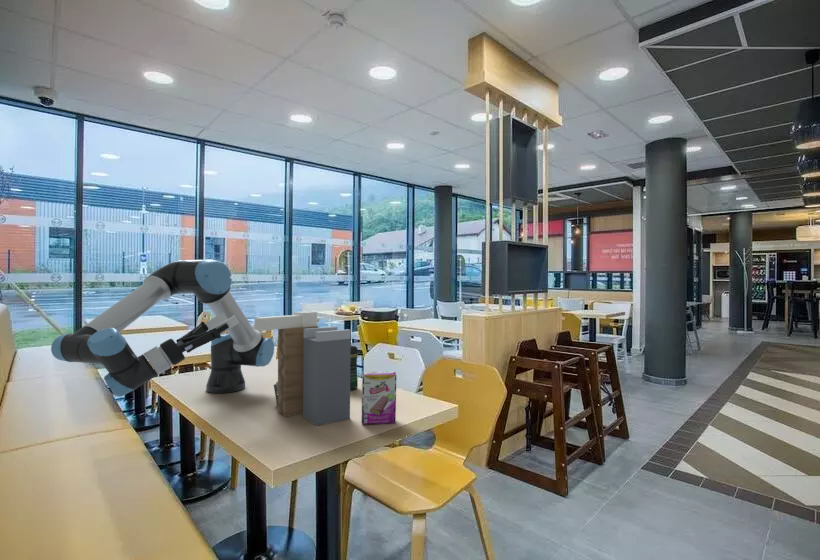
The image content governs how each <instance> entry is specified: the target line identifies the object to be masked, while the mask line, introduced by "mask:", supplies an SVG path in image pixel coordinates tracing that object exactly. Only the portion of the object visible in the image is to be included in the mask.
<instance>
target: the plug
mask: <svg viewBox="0 0 820 560" xmlns="http://www.w3.org/2000/svg"><path fill="white" fill-rule="evenodd" d="M319 322H320V319H319V318H318V312H317V311H312V310H311V311H310V310H305V311H293V314H289V315H288V314H287V315H276V316H274V315H273V316H271V315H270V316H260V317H259V316H258V317H254V329H255V330H258V331H259V332H261V331H262V332H263V331H272V330H273V331H274V330H278V329H285V328H297V327H312V326H318V323H319Z"/></svg>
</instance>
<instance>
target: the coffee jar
mask: <svg viewBox="0 0 820 560" xmlns="http://www.w3.org/2000/svg"><path fill="white" fill-rule="evenodd" d="M358 356H359V350H358V347H357V346H356V345H351V347H350V391H352V390H356V389H357V388H358V386H359V385H358V384H359V383H358V381H359V379H358Z"/></svg>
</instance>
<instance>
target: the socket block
mask: <svg viewBox="0 0 820 560" xmlns="http://www.w3.org/2000/svg"><path fill="white" fill-rule="evenodd" d="M351 331H352V330H351V329H349V328H346V329H338V326H324V327H318V328H307V329H304V353H303V413H302V417H303V416H304V417H305V418H304V417H303V418H304V419H306V420H307V419H308V421H309V422H310V421H311V423H312V424H313V423H314V424H313V425H315V426H316V425H318V426H321V425H322V424H323V425H326V423H328V424H331V422H332V423H336V421H337V422H340V421H341V422H342V421H346V420H349V419H351V390H350V347H351V346H352V345H351V337H352V336H351V335H352V334H351ZM345 419H346V420H345Z"/></svg>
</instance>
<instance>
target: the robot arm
mask: <svg viewBox="0 0 820 560" xmlns="http://www.w3.org/2000/svg"><path fill="white" fill-rule="evenodd" d="M231 277H232V273H231V270H230V268H229V267H228V266H227V265H226V263H224V262H222V261H220V260H215V259H209V258H208V259H179V260H176V261H173V262H170V263H167V264H166V265H164V266H162V267H160V268H158V269H157V270H155V271H154V272H152V273H150V275H148V276H146V277H145V278H144V281H143V284H141V285H140V286H139V285H138V287H137V288H135V289H134V290H133V291H131V292H130V293H128V294H127V295H125V296H124V297H123V298H121V299H120V300H118V302H116V303H114V304H112V306H110V307H109V308H107V309H106V310H105V311H103V312H102V313H101V314H99V315H98V316H96V317H95V318H94V319H92V320H90V321H89V322H88V323H86V324H85V325H84V326H82V327H81V328H80V329H78V330H76V331H75V332H74V333H65V334H61V335H59V336H57V337H55V339H54V340H53V341H52V342H51V343H52V344H51V347H50V349H51V350H50V352H51V354H52V356H53V357H54V358H55V359H57V360H59V361H63V362H67V363H84V364H85V363H86V364H95V365H96V364H97V365H102V366H103V367H104V369H105V370H106V371H107V372H108V373H106V375H104V377H103V381H104V382H105V384H106V385H107V386H108V388H109V389H110V390H111V392H112V393H113V394H114V395H115V396H116V397H119V398H120V397H124V396H126V395H127V394H129V393H131V392H132V391H135V390H137V389H138V388H140V387H141V386H143V385H145V383H147V382H149V381H150V380H152V379H153V378H155V377H157V376H159V375H161V374H162V375H165V374H166V371H168V370H169V369H171V368H172V365H173V366H176V365H177V364H179V363H181V362H182V361H184V360H185V359H186V357H185V355H184V354H183V353H185V352H187V354H188V353H191V352H192V351H194V350H196V349H197V348H200V347H201V346H204V345H206V344H208V343H210V342H211V344H210V373H209V377H208V378H207V379H208V380H207V382H206V385H205V387H206V389H205V390H206V392H208V393H211V394H229V393H235V392H238V391H239V392H240V391H242V390H244V389H245V388H246V380H245V377H244V375H243V372H242V371H243V370H242V366H246V367H247V366H248V367H265V366H268V365H269V364H270V363H271V362H272V359H273V356H274V353H275V342H274V340H273V339H272V338H270V337H264V335H262V333H261V331H259V330H255V328H253V326H252V324H251V323H250V322H249V320H248V319H247V317H246V316H245V314H244V312H243V310H242V309H241V307H240V306H239V304H238V302H237V301H236V300H235V298H234V296H233V295H232V294H231V292H230V291H231V285H232V281H233V280H232V278H231ZM177 294H194V296H195V297H196V298H197V300H198V301H199V302H200V303H201V304H204V305H208V307H209V308H210V310H211V311H212V312H213V314H214V317H213V318H210V319H209V320H208V321H206V322H204V321H201V322H200V324H198V325H197V326H195V327H194V328H193V329H190V331H188V332H187V333H186V334H184V335H183V336H181V337H179V338H177V339H176V340H174V339H173V338H169V339H167V340H165V341H163V342H161V343H160V345H159V347H158V345H157V346H154V347H152V348H151V349H149V350H147V351H146V352H145V351H144V353H142V354H141V355H139V356H137V354H136V353H135V352H134V350H133V349H132V347H131V346H130V345H129V343H128V342H127V340H126V337H124V336H123V335H122V334H121V332H122V331H124V330H125V329H126V328H127V327H129V326H130V325H131V324H133V323H134V322H135V321H136V320H138V319H139V318H140V317H142V316H143V315H144V314H145V313H146V312H148V311H149V310H150V309H151V308H153V307H154V306H156V304H158V303H159V302H160V301H166V300H168V299H170V297H172V296H174V295H177ZM225 332H227V333H225Z"/></svg>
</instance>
